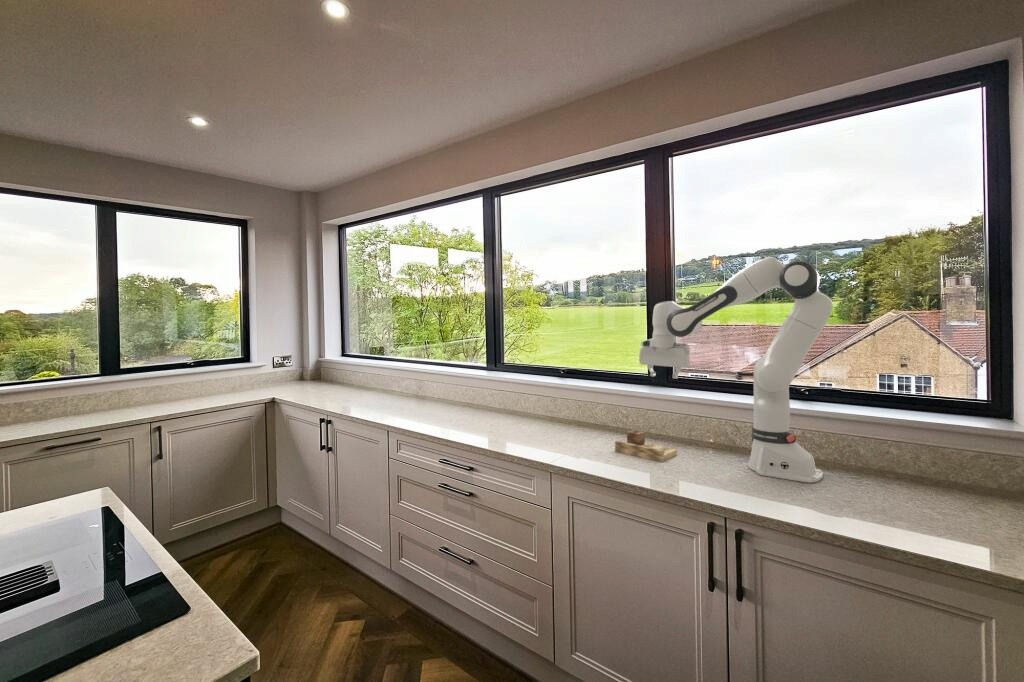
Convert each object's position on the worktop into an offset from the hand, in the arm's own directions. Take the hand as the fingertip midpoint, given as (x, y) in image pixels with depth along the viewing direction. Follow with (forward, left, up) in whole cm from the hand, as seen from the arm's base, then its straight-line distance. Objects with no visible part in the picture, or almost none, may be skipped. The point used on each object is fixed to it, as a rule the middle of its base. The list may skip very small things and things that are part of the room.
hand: (663, 377), depth 189 cm
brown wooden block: (+8, +7, -27) cm, 29 cm away
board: (+3, +9, -29) cm, 31 cm away
